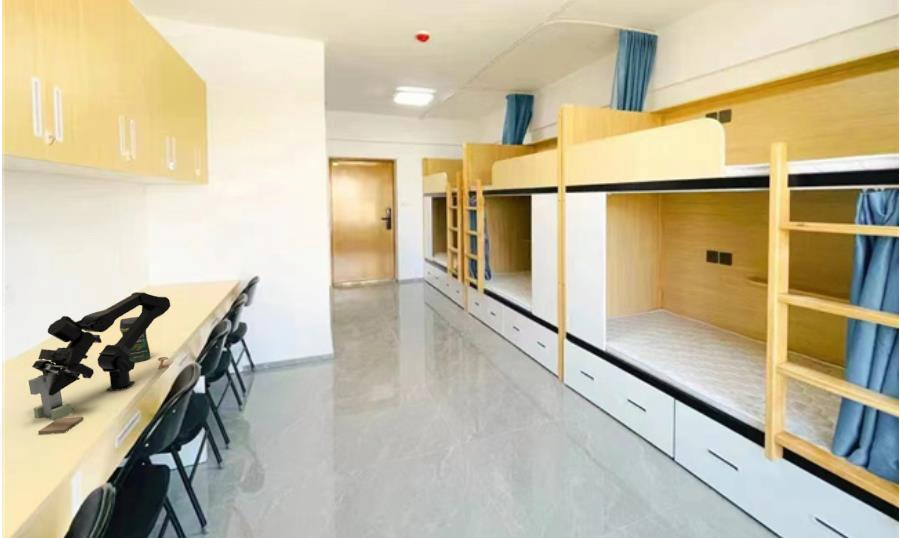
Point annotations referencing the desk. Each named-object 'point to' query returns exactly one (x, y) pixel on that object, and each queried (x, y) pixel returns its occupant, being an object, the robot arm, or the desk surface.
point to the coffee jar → (141, 346)
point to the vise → (55, 411)
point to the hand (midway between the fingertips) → (45, 394)
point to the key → (162, 363)
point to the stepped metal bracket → (46, 392)
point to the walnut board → (60, 425)
